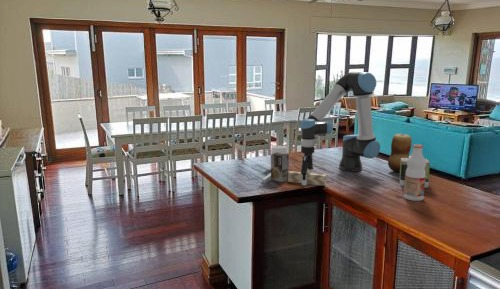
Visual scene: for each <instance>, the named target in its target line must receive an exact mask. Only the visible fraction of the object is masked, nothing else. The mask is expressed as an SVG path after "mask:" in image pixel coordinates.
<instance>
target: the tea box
mask: <svg viewBox="0 0 500 289" xmlns="http://www.w3.org/2000/svg"><path fill="white" fill-rule="evenodd" d="M407 159H408V158H401V163H400V172H399V185H400V186H401V187H402V186H403V187H405V174H406V169H407ZM425 160H426V166H425V172H426V175H425V186H424V188H427V189H428V188H429V184H430V183H429V181H430V167H431V166H430V165H431V163H430V161H429V159H427V158H425Z"/></svg>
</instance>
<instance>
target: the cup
mask: <svg viewBox="0 0 500 289" xmlns="http://www.w3.org/2000/svg"><path fill="white" fill-rule="evenodd" d="M270 152H271V154H273V153H277V152H278V153H284V154H288V148H287V146H286V145H279V144H278V145H273V146H271V150H270ZM271 154H270V155H271Z"/></svg>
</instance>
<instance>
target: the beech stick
mask: <svg viewBox="0 0 500 289" xmlns="http://www.w3.org/2000/svg"><path fill="white" fill-rule="evenodd" d="M287 181H288V183H289V182H290V183H297V184H298V183H299V184H302V174H301V171H293V170H288V180H287ZM307 185H315V186H323V187H325V186H326V185H327V174H322V173H313V172H312V173H307Z"/></svg>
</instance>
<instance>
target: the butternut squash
mask: <svg viewBox="0 0 500 289" xmlns="http://www.w3.org/2000/svg"><path fill="white" fill-rule="evenodd" d="M411 149H412V137H411V136H410V135H409V134H404V133H395V134H394V135H393V137H392V141H391V144H390V155H389V157H388V159H387V165H388V167H389V169H390V170H391V171H392V172H394V173H400V163H401V158H409V157H410V152H411Z"/></svg>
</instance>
